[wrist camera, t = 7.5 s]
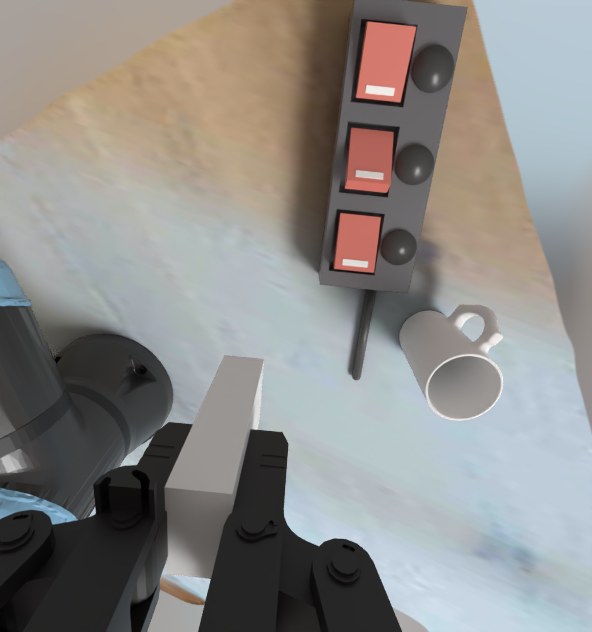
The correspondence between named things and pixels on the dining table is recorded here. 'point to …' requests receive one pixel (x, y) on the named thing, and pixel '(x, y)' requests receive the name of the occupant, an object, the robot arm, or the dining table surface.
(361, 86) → the rocker
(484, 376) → the mug
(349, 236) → the rocker
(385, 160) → the rocker
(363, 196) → the switch panel
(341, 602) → the robot arm
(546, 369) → the dining table surface
